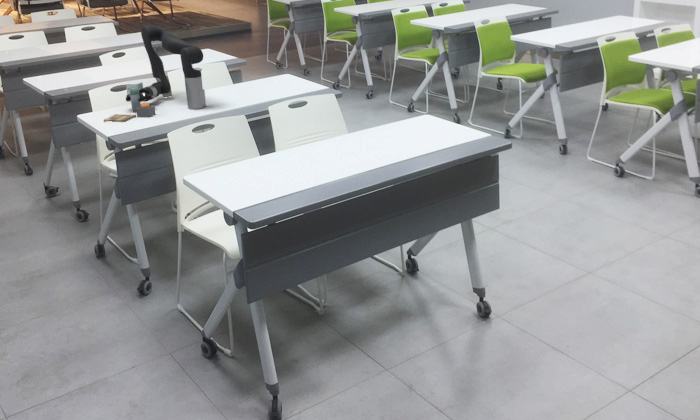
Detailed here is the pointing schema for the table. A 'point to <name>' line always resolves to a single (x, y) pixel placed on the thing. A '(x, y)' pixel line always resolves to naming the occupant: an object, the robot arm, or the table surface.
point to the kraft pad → (119, 118)
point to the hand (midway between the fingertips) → (133, 99)
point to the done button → (144, 105)
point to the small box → (133, 84)
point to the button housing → (145, 111)
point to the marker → (134, 98)
